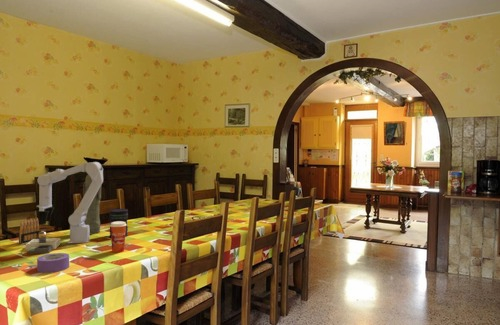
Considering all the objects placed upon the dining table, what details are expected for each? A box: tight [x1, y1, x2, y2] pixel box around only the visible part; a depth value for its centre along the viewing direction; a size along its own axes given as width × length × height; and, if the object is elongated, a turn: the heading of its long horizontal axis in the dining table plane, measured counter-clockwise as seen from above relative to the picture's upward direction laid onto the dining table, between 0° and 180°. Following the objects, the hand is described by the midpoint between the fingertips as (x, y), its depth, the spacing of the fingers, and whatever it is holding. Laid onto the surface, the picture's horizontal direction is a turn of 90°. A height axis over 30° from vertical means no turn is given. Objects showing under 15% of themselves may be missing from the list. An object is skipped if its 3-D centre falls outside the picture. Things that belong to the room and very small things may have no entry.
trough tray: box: [25, 237, 62, 251], centre depth 181 cm, size 13×10×3 cm
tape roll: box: [36, 252, 70, 274], centre depth 150 cm, size 12×12×5 cm
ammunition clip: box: [18, 217, 41, 245], centre depth 192 cm, size 11×2×12 cm, turn 158°
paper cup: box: [109, 221, 128, 253], centre depth 177 cm, size 8×8×14 cm
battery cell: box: [39, 230, 47, 243], centre depth 179 cm, size 3×3×8 cm
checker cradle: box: [27, 245, 53, 255], centre depth 173 cm, size 9×6×2 cm, turn 105°
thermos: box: [82, 174, 102, 235], centre depth 214 cm, size 9×12×35 cm
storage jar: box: [109, 208, 129, 238], centre depth 208 cm, size 10×10×15 cm
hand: (45, 222), depth 191 cm, fingers open, 7 cm apart
